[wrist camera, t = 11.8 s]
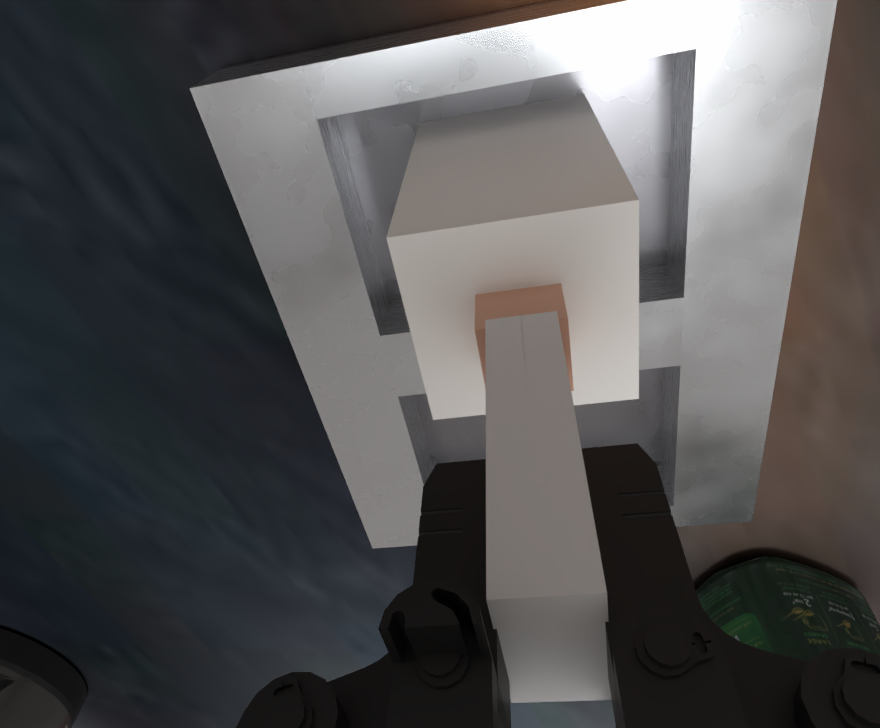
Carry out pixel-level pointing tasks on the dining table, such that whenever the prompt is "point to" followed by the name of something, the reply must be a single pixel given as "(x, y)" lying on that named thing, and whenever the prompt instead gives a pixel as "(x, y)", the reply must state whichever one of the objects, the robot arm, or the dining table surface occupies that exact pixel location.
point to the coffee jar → (789, 608)
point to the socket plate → (648, 169)
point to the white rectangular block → (518, 248)
